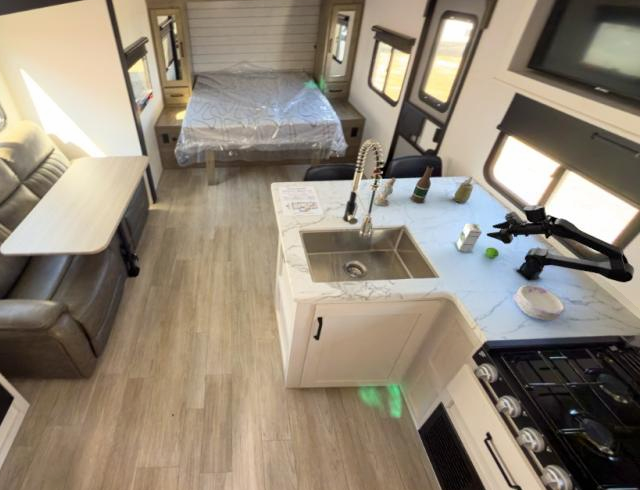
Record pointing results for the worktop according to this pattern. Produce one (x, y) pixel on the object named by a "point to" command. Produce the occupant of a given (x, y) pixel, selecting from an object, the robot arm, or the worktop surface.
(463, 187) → the squeeze bottle
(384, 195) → the figurine
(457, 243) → the syrup box
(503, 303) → the worktop surface
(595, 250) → the robot arm
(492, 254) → the lime
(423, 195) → the beer bottle
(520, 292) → the paper bowls
